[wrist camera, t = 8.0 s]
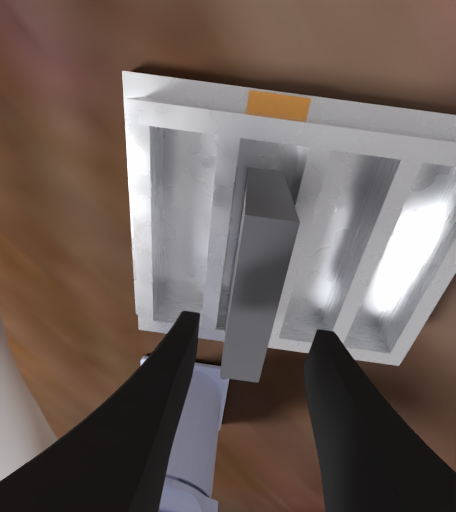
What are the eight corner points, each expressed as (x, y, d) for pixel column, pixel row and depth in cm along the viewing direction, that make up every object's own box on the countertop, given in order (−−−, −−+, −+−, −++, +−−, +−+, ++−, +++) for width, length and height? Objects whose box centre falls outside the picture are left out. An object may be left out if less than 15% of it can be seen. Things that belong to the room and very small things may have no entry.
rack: (389, 340, 24) (409, 377, 21) (140, 305, 24) (123, 337, 21) (508, 121, 16) (569, 131, 13) (129, 71, 16) (99, 68, 13)
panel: (257, 297, 21) (258, 382, 15) (229, 293, 21) (219, 377, 15) (283, 171, 17) (300, 222, 11) (247, 167, 17) (244, 214, 11)
